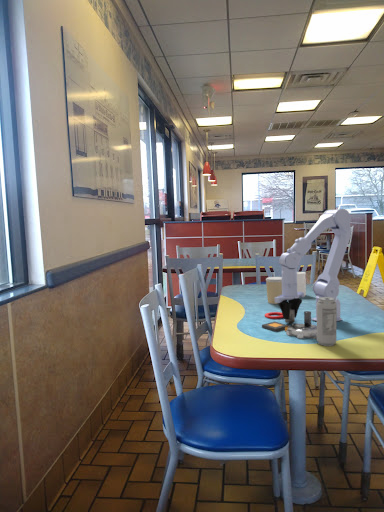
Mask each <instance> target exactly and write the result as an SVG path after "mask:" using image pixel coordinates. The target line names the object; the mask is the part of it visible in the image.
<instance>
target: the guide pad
mask: <svg viewBox="0 0 384 512" xmlns="http://www.w3.org/2000/svg"><path fill="white" fill-rule="evenodd" d="M286 326H290V325H289V324H285V323H282V322H278V321H272V322H268V323H264V324H262V325H261V328H263V329H266V330H269V331H273V332H279V331H282V330H285V327H286Z"/></svg>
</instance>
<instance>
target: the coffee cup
mask: <svg viewBox="0 0 384 512" xmlns="http://www.w3.org/2000/svg"><path fill="white" fill-rule="evenodd" d="M265 282H266V283H265V286H266V293H267V303H268V304H271V305H278V303H276V302H275V297H277V296H280V295H282V276H269V277H266V278H265Z"/></svg>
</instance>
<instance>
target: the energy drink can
mask: <svg viewBox="0 0 384 512" xmlns="http://www.w3.org/2000/svg"><path fill="white" fill-rule="evenodd" d="M336 318H337V304H336V302H335V300H334V298H332V297H319V300H318V302H317V321H316V326H317V338H316V341H317V342H318V344H319V345H320V346H324V347H333V346H335V344H336V343H337V321H336Z"/></svg>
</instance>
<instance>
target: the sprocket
mask: <svg viewBox="0 0 384 512" xmlns="http://www.w3.org/2000/svg"><path fill="white" fill-rule="evenodd" d="M303 318H304V319H303V321H304V323H295V322H294V323H291V324H290V325H289V326H286V327H285V329H284V332H285V334H286V335H287V336H290V337H291V336H292V337H294V338H296V337H297V339H303V340H304V339H312V340H314V339H315V340H317V324H316V325H315V324H312V320H311V319H312V311H308V310H307V311H306V310H305V311H304V312H303Z"/></svg>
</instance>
